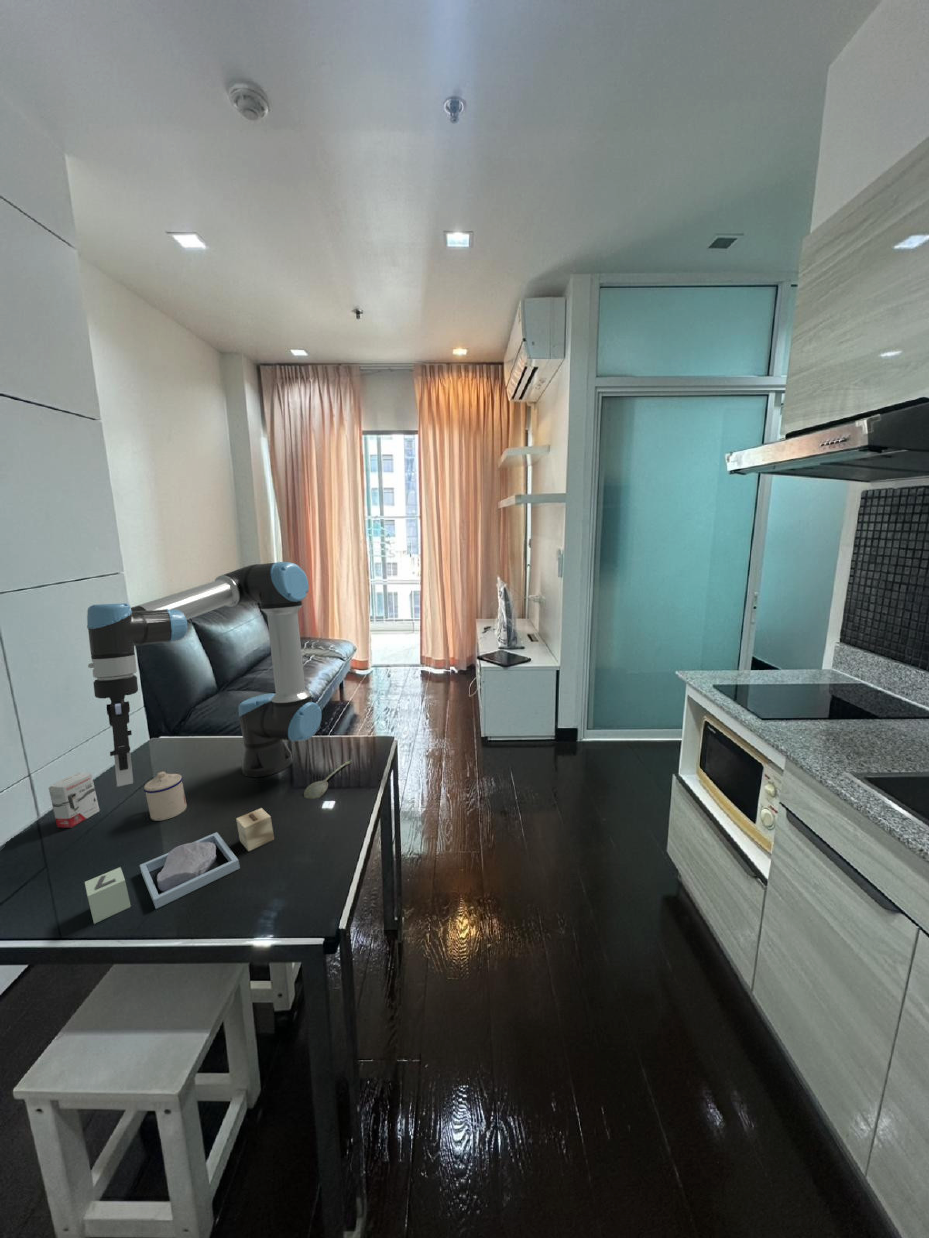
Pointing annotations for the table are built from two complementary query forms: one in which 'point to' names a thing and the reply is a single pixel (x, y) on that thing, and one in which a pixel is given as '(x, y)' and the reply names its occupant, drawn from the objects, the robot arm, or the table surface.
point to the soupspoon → (320, 785)
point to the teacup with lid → (165, 796)
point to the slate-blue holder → (193, 883)
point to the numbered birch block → (255, 829)
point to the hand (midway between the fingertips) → (124, 775)
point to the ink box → (74, 799)
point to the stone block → (186, 864)
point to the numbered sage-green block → (107, 894)
